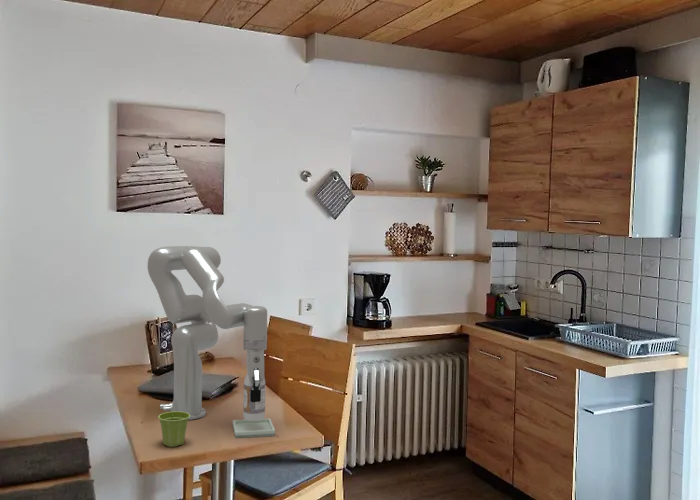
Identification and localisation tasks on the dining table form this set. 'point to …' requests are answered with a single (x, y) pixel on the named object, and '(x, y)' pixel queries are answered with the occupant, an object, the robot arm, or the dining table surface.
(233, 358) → the dining table surface
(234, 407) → the dining table surface
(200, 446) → the dining table surface
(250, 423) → the tray
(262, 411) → the bath foam
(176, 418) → the plant pot
